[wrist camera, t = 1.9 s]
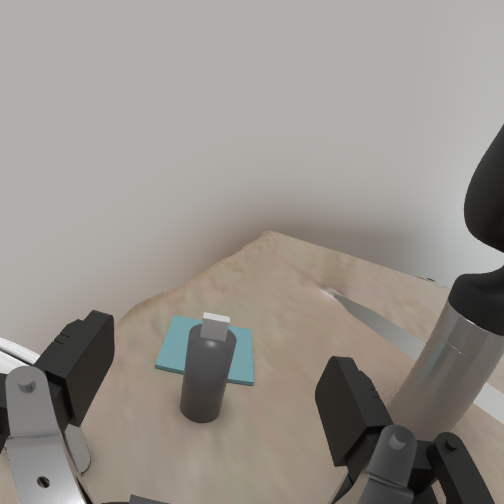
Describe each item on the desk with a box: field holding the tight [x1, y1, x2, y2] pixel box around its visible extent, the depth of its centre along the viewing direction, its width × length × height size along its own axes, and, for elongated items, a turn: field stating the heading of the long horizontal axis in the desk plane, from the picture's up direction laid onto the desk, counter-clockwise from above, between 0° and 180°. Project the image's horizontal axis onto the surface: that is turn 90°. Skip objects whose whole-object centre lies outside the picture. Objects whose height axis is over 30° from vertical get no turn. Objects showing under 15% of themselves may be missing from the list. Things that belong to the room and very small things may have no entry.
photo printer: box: [0, 338, 90, 474], centre depth 13 cm, size 10×4×12 cm, turn 98°
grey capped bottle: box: [180, 312, 237, 423], centre depth 25 cm, size 4×4×12 cm
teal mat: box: [155, 315, 254, 386], centre depth 38 cm, size 12×12×1 cm
